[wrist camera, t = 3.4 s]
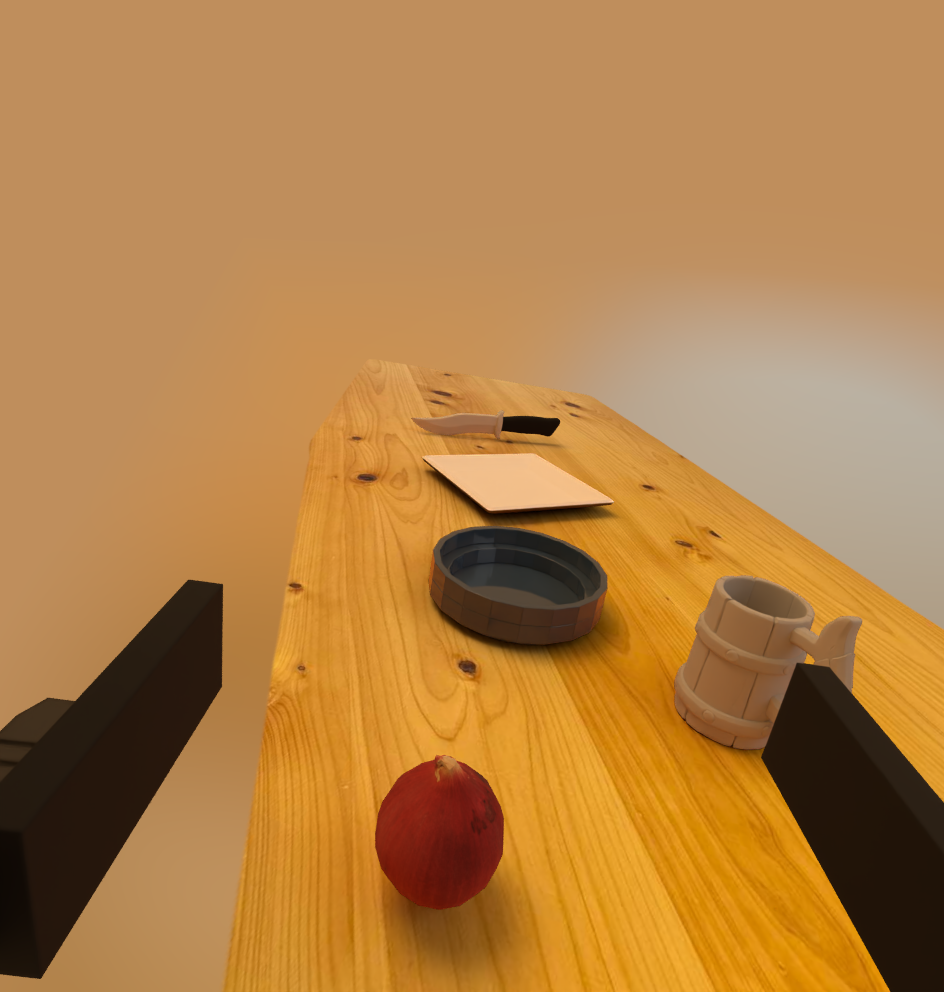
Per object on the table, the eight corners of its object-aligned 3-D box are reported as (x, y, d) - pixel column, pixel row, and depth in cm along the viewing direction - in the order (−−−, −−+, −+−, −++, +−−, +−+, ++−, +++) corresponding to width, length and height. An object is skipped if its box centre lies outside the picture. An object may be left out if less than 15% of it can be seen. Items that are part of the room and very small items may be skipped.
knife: (410, 433, 104) (413, 402, 102) (409, 430, 105) (412, 400, 104) (556, 446, 109) (562, 418, 108) (553, 443, 111) (559, 415, 109)
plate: (486, 525, 73) (489, 508, 72) (419, 469, 88) (421, 454, 87) (612, 515, 82) (615, 500, 81) (532, 465, 97) (534, 452, 96)
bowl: (406, 625, 52) (412, 581, 50) (449, 550, 66) (455, 514, 64) (596, 671, 50) (607, 626, 48) (598, 583, 64) (607, 546, 62)
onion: (465, 827, 34) (488, 705, 32) (510, 930, 29) (542, 796, 27) (356, 852, 32) (371, 722, 29) (386, 968, 27) (407, 826, 24)
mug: (725, 675, 52) (771, 540, 47) (855, 788, 42) (928, 629, 37) (648, 688, 48) (690, 544, 44) (768, 813, 38) (838, 643, 34)
